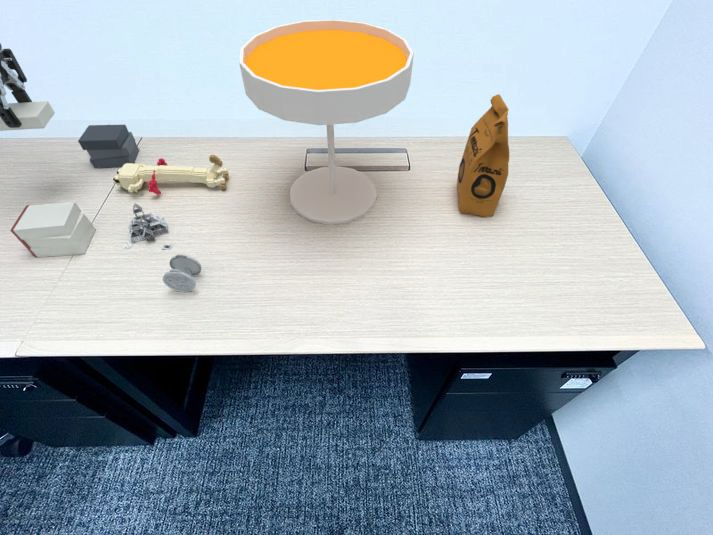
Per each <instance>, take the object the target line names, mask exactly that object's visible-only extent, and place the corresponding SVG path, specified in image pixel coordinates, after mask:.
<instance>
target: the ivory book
mask: <svg viewBox="0 0 713 535" xmlns="http://www.w3.org/2000/svg"><path fill="white" fill-rule="evenodd" d="M7 103H8V102H7ZM8 106H9V107H10V108H11V109H12V111H13V112H14V114H15V115H16V116H17V118H18V119H19V121H20V122H21V124H22V125H21V126H20V127H18V128H10V127H8V126H7V125H6V124H5V123H4V121H3V120H2V119H1V117H0V132H6V131H7V132H8V131H21V130H37V129H38V130H39V129H45V127H46V126H47V125H48V123H49V122H50V120H51V119H52V118H53V116H54V115H55V110H54V109H53V107H52V106H51V104H50V102H49V101H48V100H46V101H45V100H44V101H32V102H25V103H18V102H9V103H8Z"/></svg>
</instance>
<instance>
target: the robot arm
mask: <svg viewBox="0 0 713 535" xmlns="http://www.w3.org/2000/svg"><path fill="white" fill-rule="evenodd" d="M14 71H15V72H16V73H15V72H14ZM27 82H28V79H27V76H26V74H25V73H24V71H23V69H22V68H21V66H20V63H19V62H18V59H17V57H16V56H15V54H14V52H13V50H12V49H11V48H3V46H2V43H1V42H0V117H1V119H2V120H3V121H4V123H5V124H6V125H7V126H8V127H10V128H18V127H20V126H21V125H22V124H21V122H20V121H19V119H18V118H17V116H16V115H15V114H14V112H13V111H12V109H11V108H10V107H9V106H8V100H7V99H6V95H7V90H6V88H7V89H8V90H9V91H11V92H10V93H11V95H12V96H13V98H14V99H15V101H16V103H25V102H33V101H32V99H31V96H29V94H28V93H27V91H26V85H25V83H27ZM5 87H6V88H5Z"/></svg>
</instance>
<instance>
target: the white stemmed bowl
mask: <svg viewBox="0 0 713 535" xmlns="http://www.w3.org/2000/svg"><path fill="white" fill-rule="evenodd" d="M408 42H409V41H408V40H407V39H406V38H404V37H403V36H400V35H399V34H397V33H395V32H393V31H392V30H390V29H388V28H386V27H381V26H378V25H374V24H370V23H367V22H363V21H353V20H344V19H334V18H333V19H314V20H311V19H309V20H301V21H297V22H290V23H286V24H281V25H275V26H274V27H273V26H272V27H271V28H269V29H266V30H264V31H262V32H259V33H257V34H255V35H253V36H252V37H251V38H249V39H248V40H247V42H246V43H244V44H243V45H242V46H241V47H240V50H239V59H238V60H239V62H238V64H239V69H240V72H241V77H242V82H243V87H244V93H245V96H246V97H247V98H248V99H249V101H251V102H252V104H253V105H254V106H255V107H256V108H257V109H258V110H259V111H262V112H264V113H266V114H269V115H271V116H273V117H275V118H278V119H280V120H282V121H286V122H292V123H293V122H294V123H301V124H308V125H314V126H326V139H327V140H326V141H327V142H326V143H327V158H328V159H327V160H328V166H322V167H317V168H315V169H312V170H308V171H306V172H304V173H303V174H302V175H301V176H299V177H298V178H297V179H295V180H294V182H293V184H292V186H291V187H290V189H289V199H290V200H289V201H290V206H292V208H293V210H295V212H296V213H297V214H298V215H299V216H301V217H303V218H304V219H306V220H309V221H310V222H312V223H318V224H323V225H328V226H330V225H338V224H339V225H340V224H341V225H342V224H349V223H351V222H353V221H356V220H358V219H361V218H363V217H365V215H366V214H367V213H369V212H370V211H371V210H372V209H373V208H374V206H375V202H376V200H377V197H378V193H377V189H376V186H375V183H374V182H373V181H372V179H370V178H369V177H368V176H367V175H366V174H365V173H363V172H361V171H358V170H356V169H354V168H352V167H345V166H339V165H336V151H335V150H336V148H335V125H343V124H344V125H345V124H357V123H360V122H363V121H366V120H370V119H373V118H376V117H380V116H383V115H385V114H388V113H389V112H391V111H392V110H394V108H396V107H398V106H399V105H400V104H401V103H402V102H404V101H405V100H406V98H407V95H408V92H409V89H410V86H411V81H412V73H413V64H414V50H413V49H412V47H411V46H410V44H409V43H408Z"/></svg>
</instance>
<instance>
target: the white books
mask: <svg viewBox="0 0 713 535" xmlns="http://www.w3.org/2000/svg"><path fill="white" fill-rule="evenodd" d="M81 212H82V210H81V208H80V207H79V205H78V204H77V203H76V202H75V201H67V202H66V201H65V202H55V203H43V204H34V205H30V204H27V205H25V206H24V208H23V210H22V211H21V212H20V215H19V216H18V217H17V219H16V221H15V222H14V224H13V225H12V227H11V228H10V232H11V233H12V234H13V236H14V237H16V239H18V241H19V242H20V243H21V244H22V245H23V246H24V248H26V249H27V251H28V252H29V253H30V254H31V255H32V256H33V257H34V258H47V257H48V258H49V257H60V256H61V257H62V256H74V255H77V256H78V255H85V254H86V253H87V250H88V248H89V245H90V244H91V241H92V239H93V237H94V235H95V232H96V228H95V226H94V225H93V223H92V222H91V220H89V219H88V217H87V216H86V214H85V213H81Z"/></svg>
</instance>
